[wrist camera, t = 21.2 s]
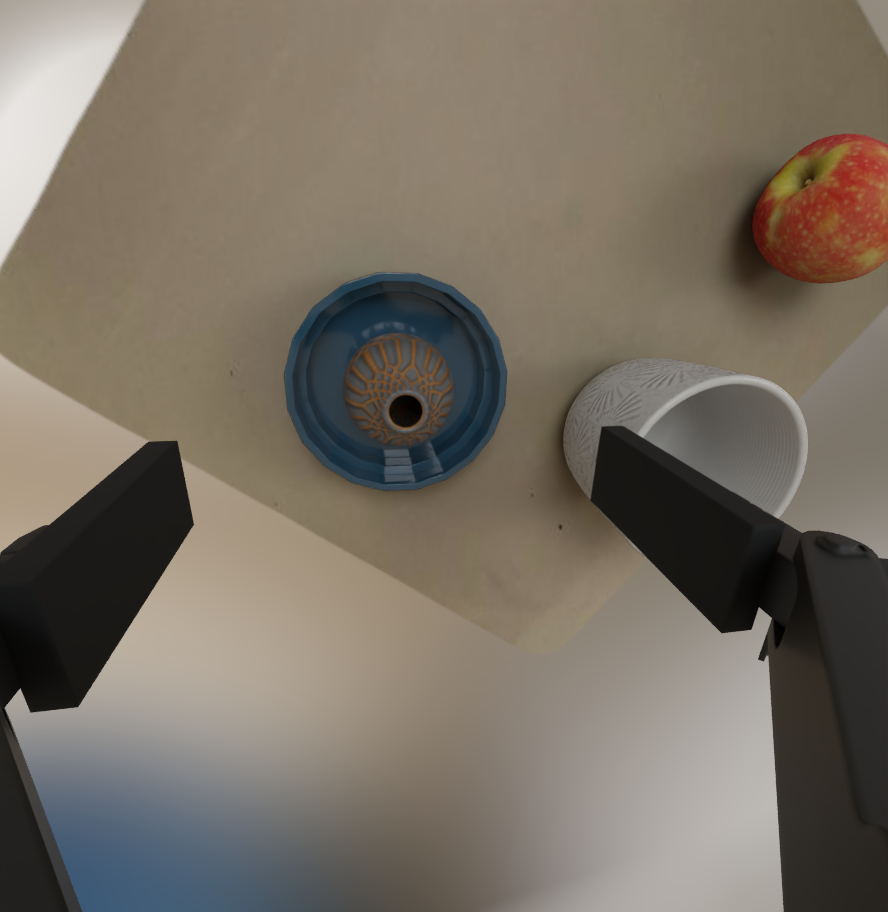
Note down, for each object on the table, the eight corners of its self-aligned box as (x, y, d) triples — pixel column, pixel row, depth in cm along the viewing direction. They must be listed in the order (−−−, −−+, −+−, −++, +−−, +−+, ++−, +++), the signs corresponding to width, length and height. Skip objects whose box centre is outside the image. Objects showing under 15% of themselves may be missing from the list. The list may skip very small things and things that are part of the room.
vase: (391, 443, 35) (401, 495, 27) (323, 374, 32) (310, 408, 24) (463, 381, 34) (494, 415, 26) (398, 305, 32) (411, 316, 23)
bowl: (284, 269, 30) (273, 269, 27) (497, 275, 32) (514, 275, 29) (302, 472, 35) (295, 495, 32) (485, 464, 37) (499, 485, 34)
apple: (785, 129, 32) (912, 87, 25) (853, 207, 35) (985, 190, 27) (707, 238, 34) (804, 228, 26) (778, 303, 37) (883, 312, 29)
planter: (519, 406, 36) (581, 457, 26) (660, 313, 35) (779, 330, 25) (587, 520, 41) (660, 601, 31) (712, 441, 40) (829, 498, 30)
